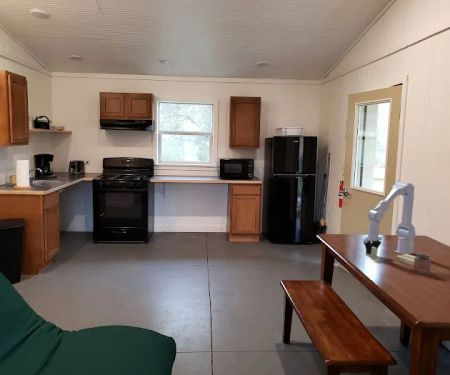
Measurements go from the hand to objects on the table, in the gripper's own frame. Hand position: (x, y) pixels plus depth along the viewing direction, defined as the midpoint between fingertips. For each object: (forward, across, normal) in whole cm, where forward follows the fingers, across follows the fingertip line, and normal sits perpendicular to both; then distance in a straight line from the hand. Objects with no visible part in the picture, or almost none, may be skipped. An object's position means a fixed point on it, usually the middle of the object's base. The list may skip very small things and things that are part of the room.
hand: (371, 253), depth 228 cm
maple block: (+2, -11, +17) cm, 20 cm away
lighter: (+2, +1, +31) cm, 31 cm away
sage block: (+2, 0, 0) cm, 2 cm away
